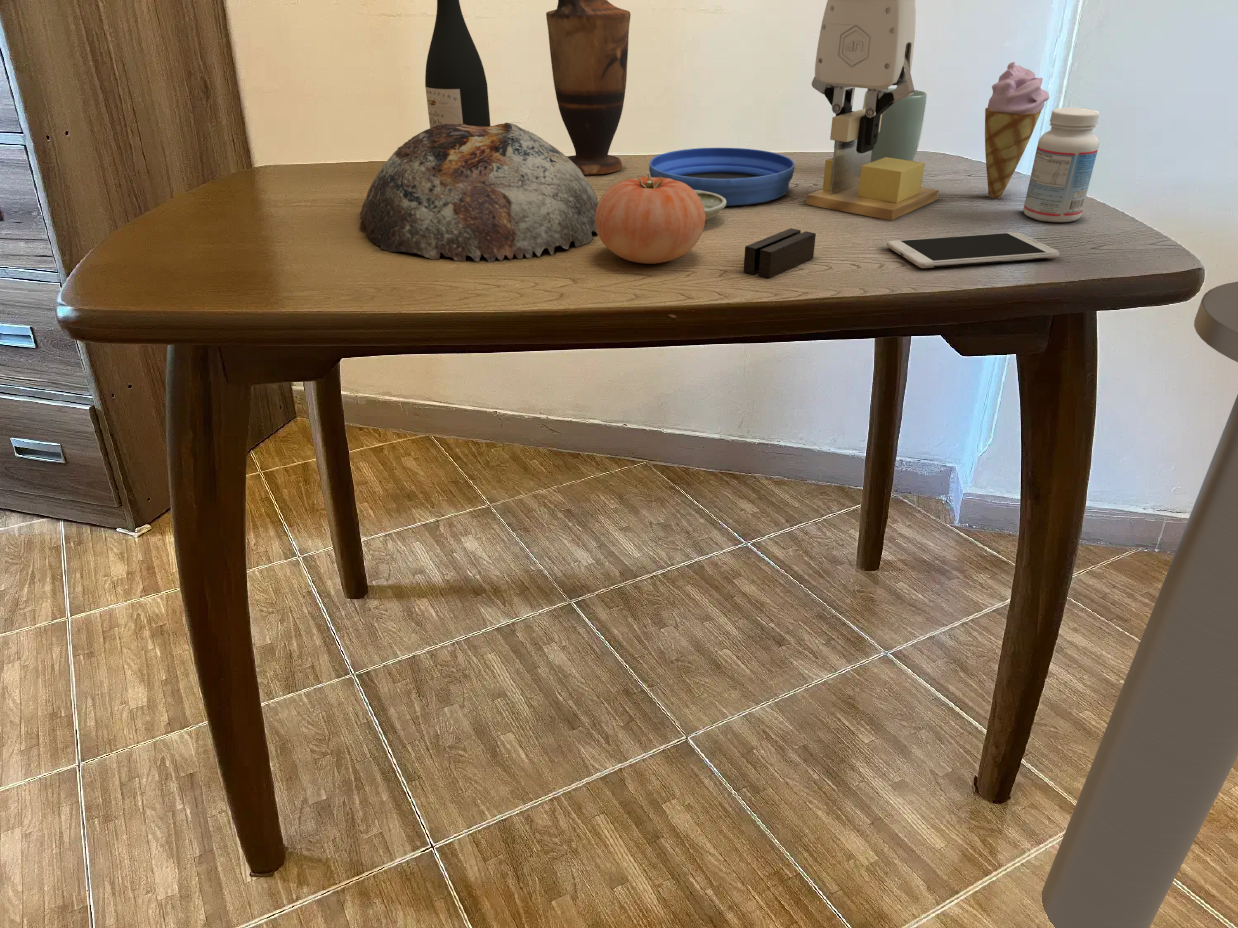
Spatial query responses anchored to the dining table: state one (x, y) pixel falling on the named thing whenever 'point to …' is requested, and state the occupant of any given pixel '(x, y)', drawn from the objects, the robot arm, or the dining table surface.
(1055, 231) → the dining table surface
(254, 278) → the dining table surface
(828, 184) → the butter slice
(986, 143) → the ice cream cone
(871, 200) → the board
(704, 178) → the bowl
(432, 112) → the wine bottle
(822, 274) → the dining table surface
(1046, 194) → the pill bottle
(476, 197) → the bread
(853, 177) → the knife
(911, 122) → the cup
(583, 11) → the vase
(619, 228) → the tomato
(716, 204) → the saucer
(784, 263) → the knife holder
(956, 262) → the smartphone
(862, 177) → the butter block
